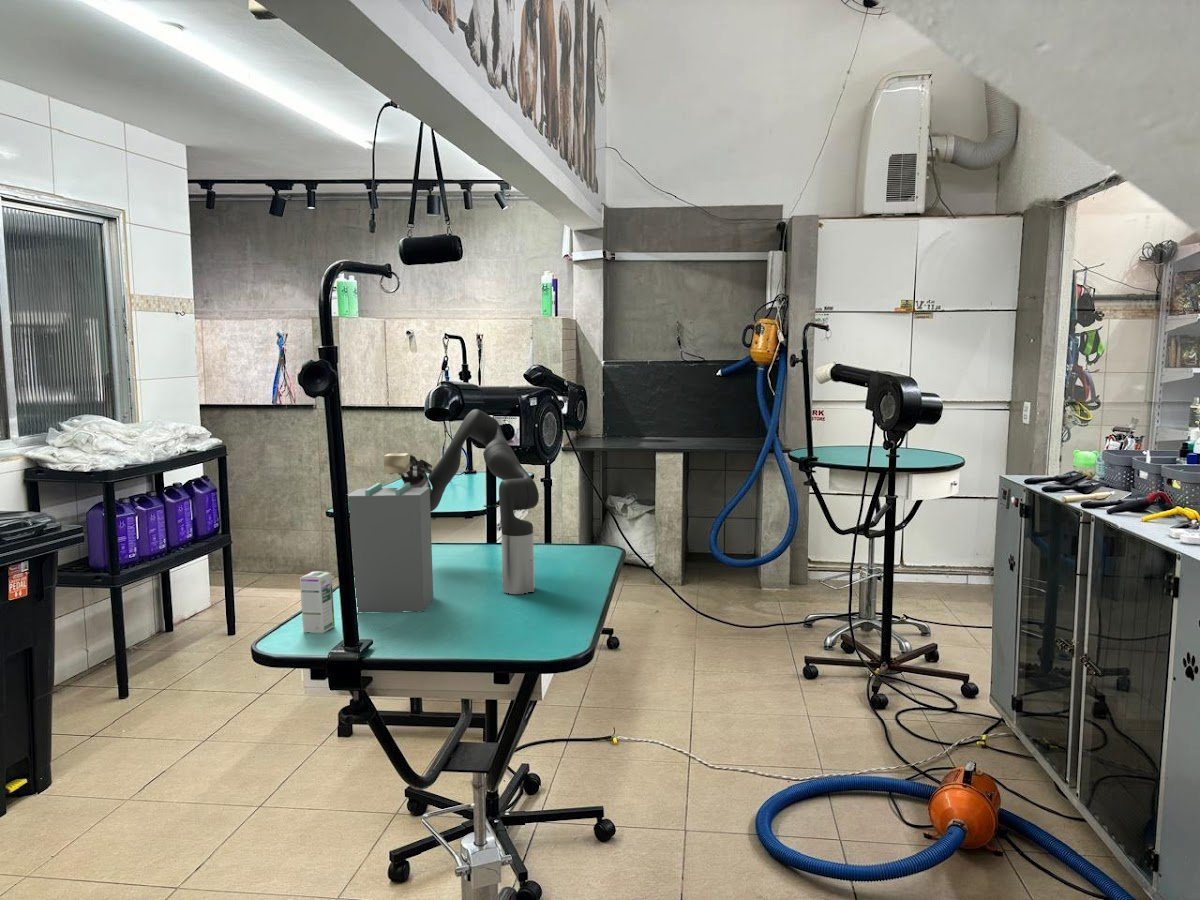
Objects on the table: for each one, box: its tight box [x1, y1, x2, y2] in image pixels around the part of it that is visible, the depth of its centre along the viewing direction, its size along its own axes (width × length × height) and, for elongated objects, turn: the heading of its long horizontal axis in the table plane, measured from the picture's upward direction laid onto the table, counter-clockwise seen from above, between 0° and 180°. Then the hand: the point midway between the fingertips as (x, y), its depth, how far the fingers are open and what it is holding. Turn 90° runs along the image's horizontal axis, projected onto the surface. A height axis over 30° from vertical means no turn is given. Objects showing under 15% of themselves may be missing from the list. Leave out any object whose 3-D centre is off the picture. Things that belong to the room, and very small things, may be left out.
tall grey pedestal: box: [347, 482, 434, 614], centre depth 234 cm, size 20×14×34 cm
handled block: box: [383, 452, 412, 474], centre depth 251 cm, size 6×20×5 cm, turn 1°
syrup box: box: [299, 570, 336, 634], centre depth 214 cm, size 6×6×14 cm
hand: (405, 457), depth 255 cm, fingers closed on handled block, 3 cm apart
